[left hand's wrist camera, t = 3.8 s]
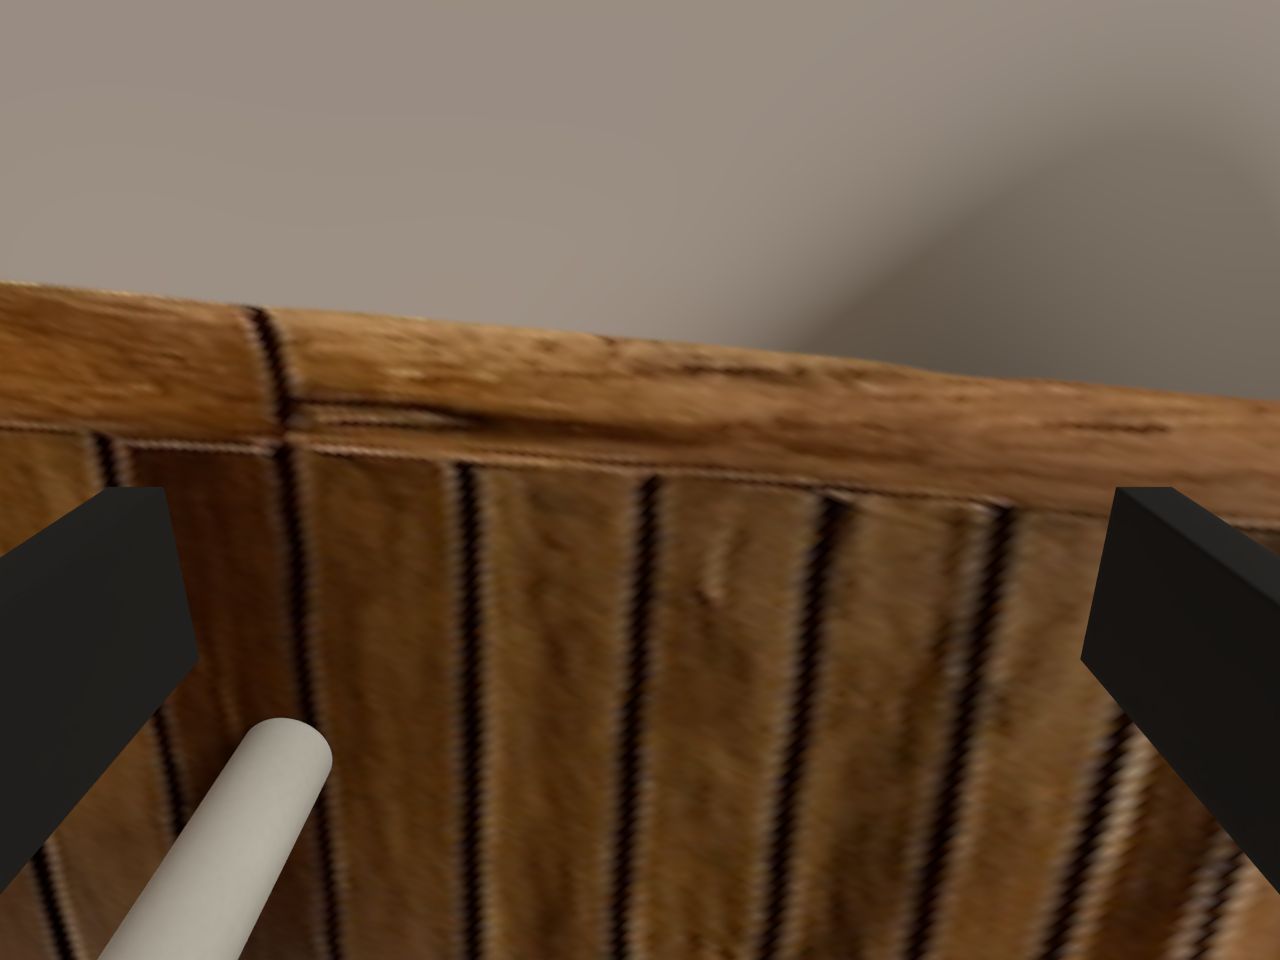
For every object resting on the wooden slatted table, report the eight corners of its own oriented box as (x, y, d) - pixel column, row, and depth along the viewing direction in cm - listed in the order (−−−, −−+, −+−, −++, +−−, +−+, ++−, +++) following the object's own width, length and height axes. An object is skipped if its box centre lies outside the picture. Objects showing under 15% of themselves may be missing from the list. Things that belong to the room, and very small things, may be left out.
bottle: (346, 780, 48) (133, 1244, 28) (263, 798, 49) (-5, 1268, 28) (312, 708, 47) (60, 1147, 26) (227, 728, 47) (-85, 1173, 27)
